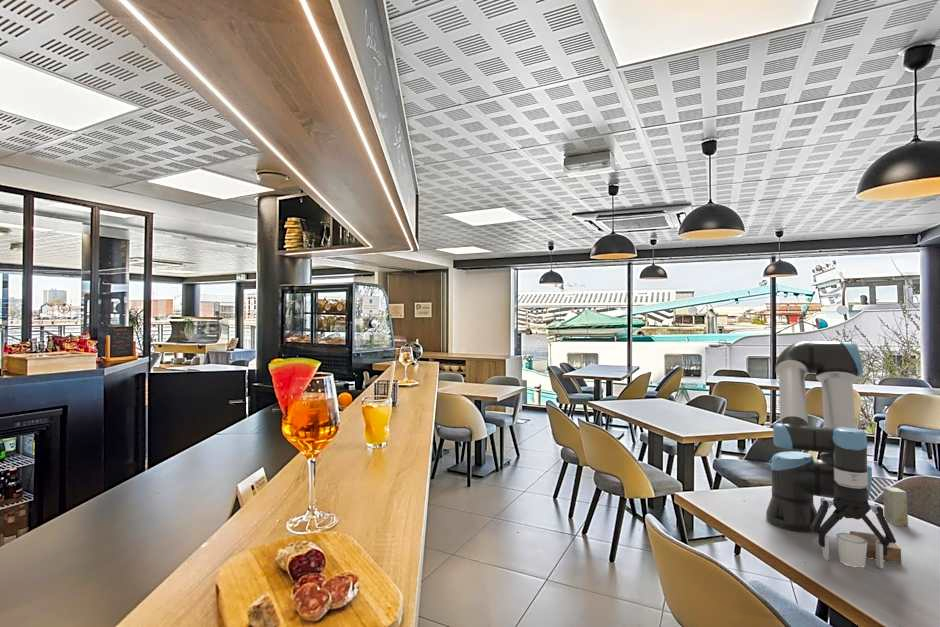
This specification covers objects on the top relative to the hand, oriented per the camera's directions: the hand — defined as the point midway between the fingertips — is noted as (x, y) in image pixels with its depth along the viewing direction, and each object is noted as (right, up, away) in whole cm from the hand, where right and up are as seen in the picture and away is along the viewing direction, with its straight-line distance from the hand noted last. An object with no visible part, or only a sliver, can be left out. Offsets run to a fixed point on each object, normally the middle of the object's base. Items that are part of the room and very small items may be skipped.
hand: (852, 562), depth 135 cm
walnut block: (+11, 0, +5) cm, 12 cm away
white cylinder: (0, 0, 0) cm, 0 cm away
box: (+36, -1, +26) cm, 45 cm away
